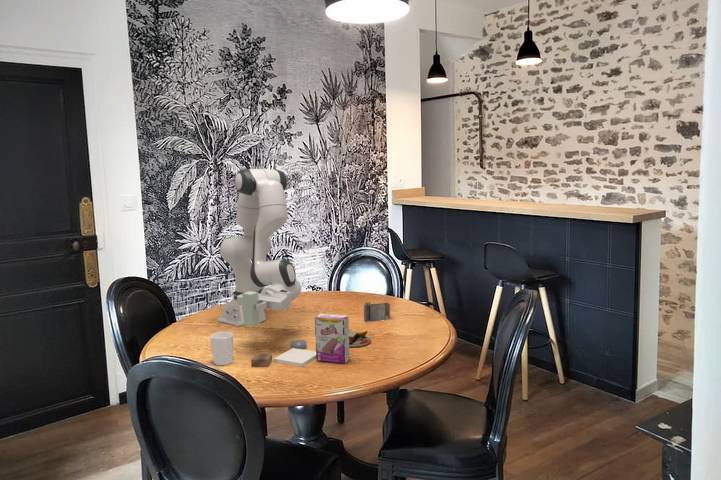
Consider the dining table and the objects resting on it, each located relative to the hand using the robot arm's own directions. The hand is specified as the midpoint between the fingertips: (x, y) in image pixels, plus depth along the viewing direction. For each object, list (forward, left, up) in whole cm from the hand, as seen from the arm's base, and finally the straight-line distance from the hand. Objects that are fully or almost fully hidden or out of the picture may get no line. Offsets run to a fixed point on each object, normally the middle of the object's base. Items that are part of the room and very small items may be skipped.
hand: (249, 306), depth 192 cm
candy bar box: (+30, +7, -19) cm, 36 cm away
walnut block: (+8, -5, -19) cm, 21 cm away
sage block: (0, +1, -7) cm, 7 cm away
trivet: (+17, +4, -19) cm, 26 cm away
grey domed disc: (+11, +14, -19) cm, 26 cm away
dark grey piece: (+24, +58, -19) cm, 65 cm away
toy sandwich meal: (+28, +27, -19) cm, 43 cm away
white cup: (-6, -9, -19) cm, 22 cm away
